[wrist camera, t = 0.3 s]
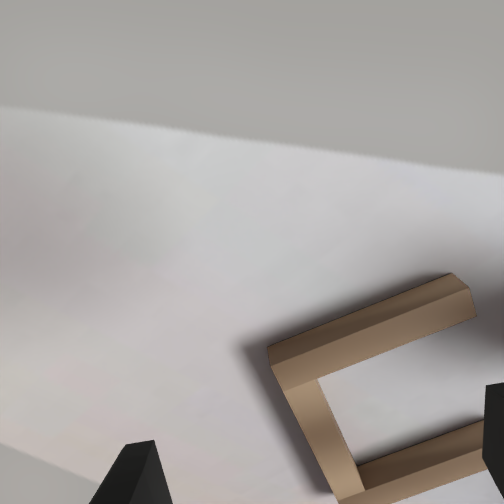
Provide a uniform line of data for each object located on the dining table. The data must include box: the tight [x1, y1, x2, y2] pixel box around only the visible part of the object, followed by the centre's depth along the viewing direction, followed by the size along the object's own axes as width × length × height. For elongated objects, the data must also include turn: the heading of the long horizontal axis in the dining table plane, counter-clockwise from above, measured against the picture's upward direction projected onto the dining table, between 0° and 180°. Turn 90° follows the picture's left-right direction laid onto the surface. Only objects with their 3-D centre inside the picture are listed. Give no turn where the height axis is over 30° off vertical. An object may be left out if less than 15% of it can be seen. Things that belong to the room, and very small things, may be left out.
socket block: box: [267, 273, 488, 504], centre depth 22 cm, size 10×9×2 cm
